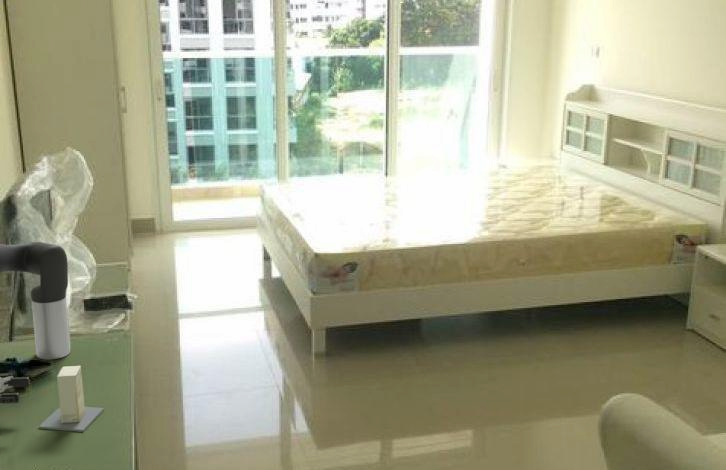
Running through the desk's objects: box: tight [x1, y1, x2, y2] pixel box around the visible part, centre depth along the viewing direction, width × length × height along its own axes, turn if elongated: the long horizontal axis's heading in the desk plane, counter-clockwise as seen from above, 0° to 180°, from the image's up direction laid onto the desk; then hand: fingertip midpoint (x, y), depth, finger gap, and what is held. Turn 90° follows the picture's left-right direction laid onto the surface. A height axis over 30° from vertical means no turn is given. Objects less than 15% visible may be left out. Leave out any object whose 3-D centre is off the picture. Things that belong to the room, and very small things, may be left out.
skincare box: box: [56, 365, 86, 423], centre depth 180 cm, size 6×4×12 cm
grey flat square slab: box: [38, 406, 105, 433], centre depth 182 cm, size 11×11×1 cm
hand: (24, 389), depth 178 cm, fingers open, 8 cm apart
